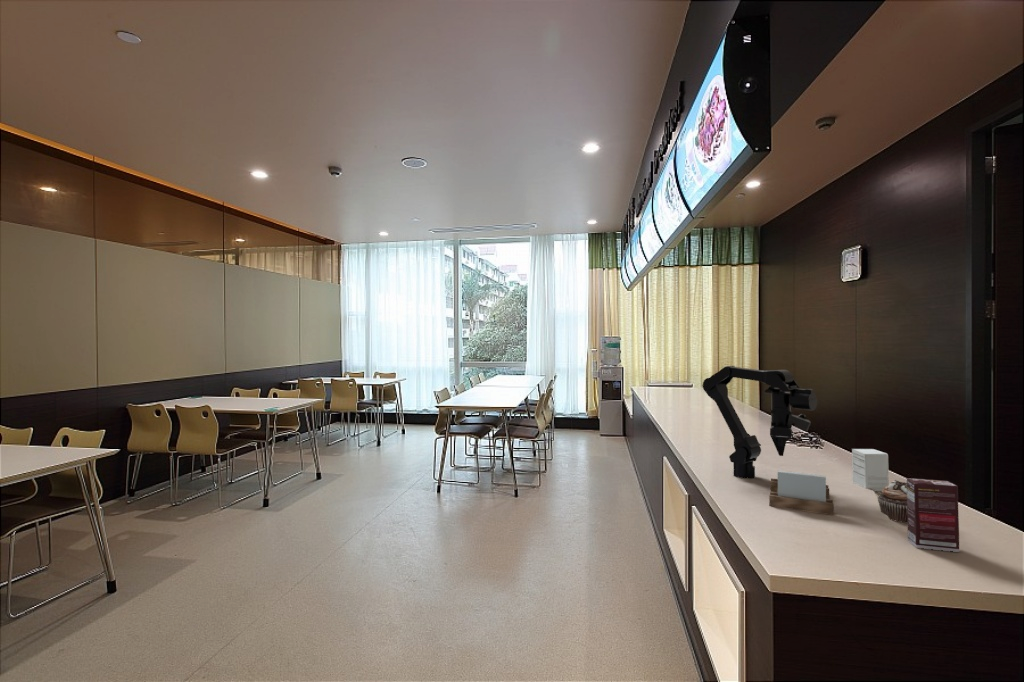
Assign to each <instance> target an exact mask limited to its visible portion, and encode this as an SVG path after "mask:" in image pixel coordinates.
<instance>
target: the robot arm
mask: <svg viewBox="0 0 1024 682" xmlns="http://www.w3.org/2000/svg"><path fill="white" fill-rule="evenodd" d="M733 378H735V379H736V378H737V379H743V380H750V381H755V382H760V383H763V384H765V385H767V386H768V388H767V389H765V390H764V393H765V394H770V395H771V396H770V397H771V398H770V400H771V401H770V403H771V404H770V406H771V407H770V409H771V410H770V415H771V417H770V418H771V420H770V428H769V436H770V438H771V441H772V442H773V444H774V447H775V449H776V451H777V453H778V456H780V457H784V454H785V449H786V443H787V442H788V441H789V440H791V439H792V437H793V430H792V427H796V428H798V429H801V430H802V431H805V432H808V430H809V427H810V426H811V423H812V422H811V421H810V419H807V416H806V414H803V413H800V414H799V415H795V414H793V413H792V410H791V407H792V408H793V409H797V410H805V411H815V410H816V409H817V407H818V406H817V405H818V398H817V396H816V394H815V390H814V389H813V388H801V386H799V384H798V383H797V381H796V380H795V379H794V376H793V374H792V373H791V371H790V370H789V369H788V370H787V369H776V370H775V369H771V370H761V369H754V368H745V367H737V366H735V365H727V366H726V365H725V366H724V367H722V368H721V369H720V370H719V371H716V372H715V373H714V374H712V375H710V376H709V377H706V378H705V379H703V382H702V385H701V386H702V388H703V390H704V392H705V393H706V395H707V396H708V397H709V398H710V399H711V400H712V401H714V402H715V404H716V406H717V407H718V410H719V412H720V413H721V415H722V417H723V419H724V421H725V424H726V425H727V427H728V429H729V431H730V433H731V434H732V437H733V447H734V450H735V451H734V452H733V453H731V454H730V455H729V456H728V457H729V461H730V462H731V463H733V477H736V478H741V479H756V466H755V465H754V462H756V461H757V459H758V457H759V456H760V455H761V453H762V448H761V447H762V445H761V444H760V443H761V442H759V441H758V438H757V435H756V434H754V435H751V434H750V433H748V432H747V430H746V429H745V425H743V422H742V421H741V418H740V417H739V415H738V413H737V411H736V410H735V408H734V406H733V404H732V402H731V400H730V398H729V389H728V385H729V384H730V383H731V381H732V380H733Z"/></svg>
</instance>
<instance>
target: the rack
mask: <svg viewBox="0 0 1024 682" xmlns="http://www.w3.org/2000/svg"><path fill="white" fill-rule="evenodd" d="M777 491H778V478H774V477H773V478H770V491H769V497H768V499H769V507H775V508H783V509H790V510H796V511H797V510H798V511H803V512H810V513H816V514H817V513H818V514H821V515H822V514H825V515H830V516H835V504H834V499H830V487H829V485H828V484H826V502H820V501H813V500H805V499H798V498H791V497H784V496H778V492H777Z"/></svg>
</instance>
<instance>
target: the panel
mask: <svg viewBox="0 0 1024 682" xmlns="http://www.w3.org/2000/svg"><path fill="white" fill-rule="evenodd" d="M777 479H778V496H784V497H791V498H798V499H805V500H813V501H820V502H826V485H827V484H826V483H827V477H826V476H825V475H820V474H819V475H818V474H809V473H803V472H792V471H784V470H777Z"/></svg>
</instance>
